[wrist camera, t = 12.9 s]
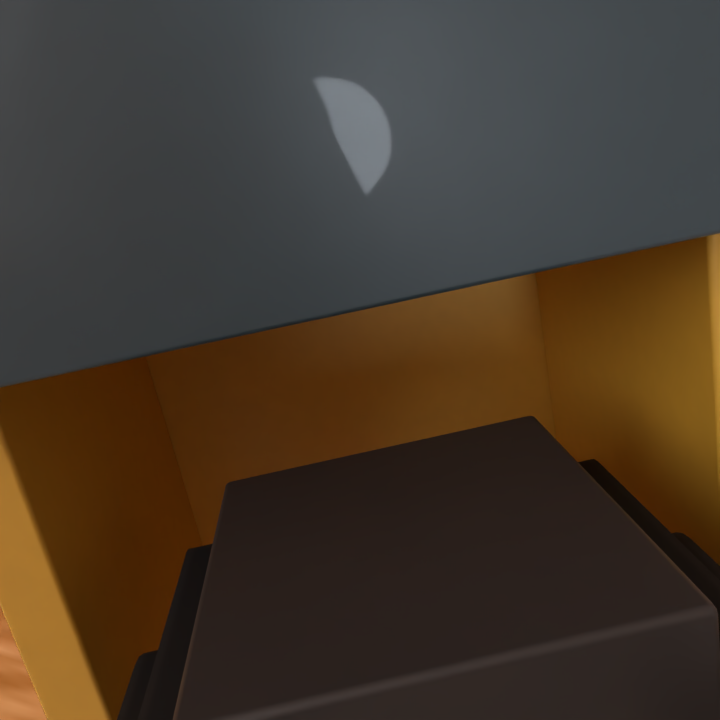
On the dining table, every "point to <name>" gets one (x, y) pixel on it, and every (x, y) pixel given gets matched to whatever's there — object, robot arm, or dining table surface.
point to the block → (445, 594)
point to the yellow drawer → (338, 435)
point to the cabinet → (330, 158)
